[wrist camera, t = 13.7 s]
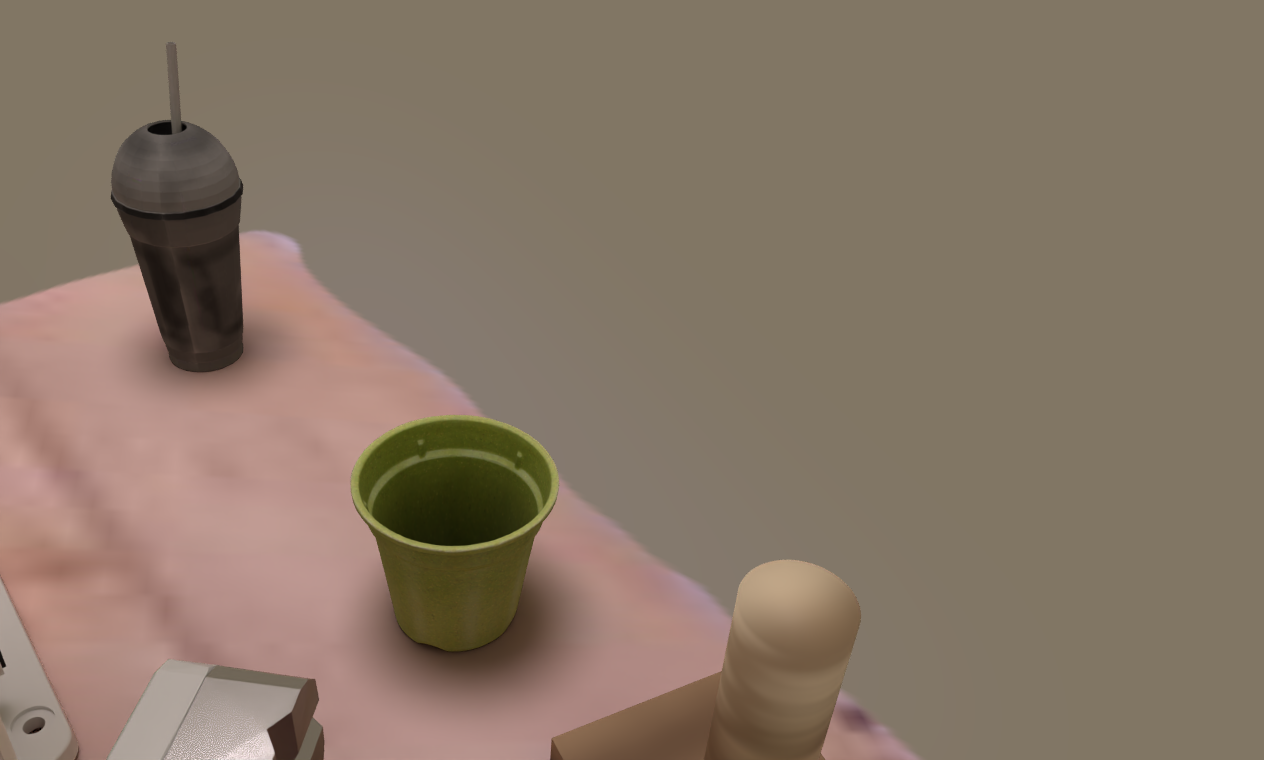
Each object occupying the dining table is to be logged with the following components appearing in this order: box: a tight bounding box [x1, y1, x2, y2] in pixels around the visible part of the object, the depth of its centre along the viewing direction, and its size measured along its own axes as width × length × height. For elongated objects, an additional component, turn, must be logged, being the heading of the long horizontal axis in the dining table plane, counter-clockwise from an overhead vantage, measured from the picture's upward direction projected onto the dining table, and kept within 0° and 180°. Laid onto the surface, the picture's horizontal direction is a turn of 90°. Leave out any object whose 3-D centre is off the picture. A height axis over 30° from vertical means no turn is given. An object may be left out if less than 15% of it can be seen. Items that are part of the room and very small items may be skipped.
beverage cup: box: [111, 42, 243, 372], centre depth 64 cm, size 7×7×20 cm
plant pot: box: [351, 415, 559, 651], centre depth 52 cm, size 9×9×9 cm
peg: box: [704, 560, 861, 760], centre depth 39 cm, size 4×4×16 cm
